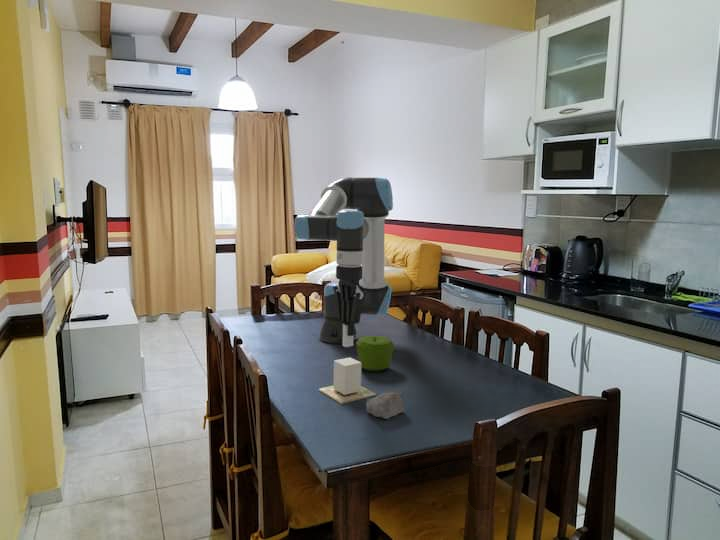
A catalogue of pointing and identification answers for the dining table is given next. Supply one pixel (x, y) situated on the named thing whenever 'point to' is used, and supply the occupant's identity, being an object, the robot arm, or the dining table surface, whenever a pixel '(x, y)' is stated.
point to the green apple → (374, 352)
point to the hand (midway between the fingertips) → (347, 345)
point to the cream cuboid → (347, 375)
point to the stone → (386, 405)
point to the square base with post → (348, 397)
